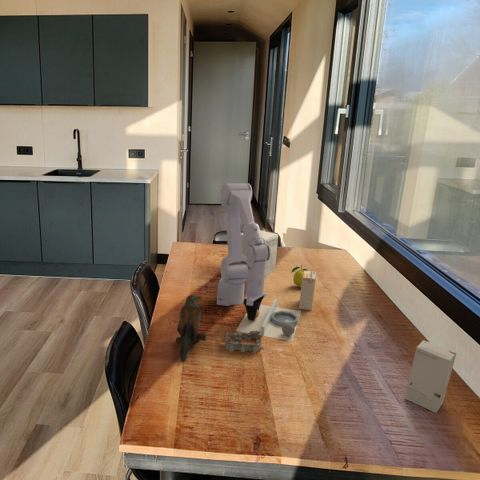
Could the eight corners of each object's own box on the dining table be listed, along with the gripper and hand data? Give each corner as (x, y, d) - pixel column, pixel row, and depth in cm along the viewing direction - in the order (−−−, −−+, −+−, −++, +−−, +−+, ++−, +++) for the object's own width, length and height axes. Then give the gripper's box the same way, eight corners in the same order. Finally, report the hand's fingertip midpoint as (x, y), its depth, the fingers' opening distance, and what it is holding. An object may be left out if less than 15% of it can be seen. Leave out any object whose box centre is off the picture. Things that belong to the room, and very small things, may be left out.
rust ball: (245, 320, 144) (246, 309, 143) (248, 315, 147) (249, 304, 146) (257, 322, 143) (258, 311, 142) (259, 317, 146) (260, 306, 145)
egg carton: (260, 342, 132) (261, 330, 131) (260, 355, 125) (261, 342, 124) (226, 339, 133) (227, 327, 132) (223, 351, 126) (224, 339, 124)
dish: (268, 324, 142) (269, 320, 141) (273, 313, 150) (274, 309, 150) (296, 329, 140) (296, 324, 139) (299, 317, 148) (299, 313, 148)
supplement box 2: (311, 313, 155) (315, 278, 151) (298, 311, 156) (302, 277, 152) (312, 304, 163) (316, 271, 159) (300, 302, 164) (303, 269, 160)
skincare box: (403, 399, 109) (413, 346, 105) (411, 389, 113) (421, 338, 109) (438, 414, 104) (450, 360, 100) (445, 403, 108) (457, 350, 104)
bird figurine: (203, 363, 117) (209, 290, 122) (167, 360, 118) (175, 288, 123) (208, 363, 130) (213, 297, 135) (175, 361, 130) (182, 295, 136)
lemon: (289, 288, 177) (291, 265, 174) (293, 283, 182) (295, 261, 179) (305, 291, 175) (307, 268, 172) (308, 286, 180) (311, 264, 177)
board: (235, 333, 136) (235, 330, 136) (252, 305, 158) (252, 303, 157) (292, 344, 132) (292, 341, 132) (301, 313, 154) (301, 311, 153)
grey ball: (280, 336, 134) (281, 325, 133) (282, 331, 138) (283, 319, 137) (293, 339, 133) (294, 327, 132) (294, 333, 137) (296, 321, 136)
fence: (260, 335, 134) (261, 326, 133) (273, 306, 156) (274, 299, 155) (263, 336, 134) (264, 327, 133) (276, 307, 155) (277, 299, 155)
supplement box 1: (275, 270, 196) (279, 233, 192) (261, 278, 186) (264, 239, 181) (251, 264, 203) (253, 228, 198) (235, 271, 192) (238, 233, 188)
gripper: (263, 288, 134) (259, 328, 137) (271, 274, 147) (268, 310, 151) (241, 285, 135) (238, 324, 139) (251, 271, 149) (249, 307, 152)
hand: (252, 317), depth 145 cm, fingers closed on rust ball, 4 cm apart
